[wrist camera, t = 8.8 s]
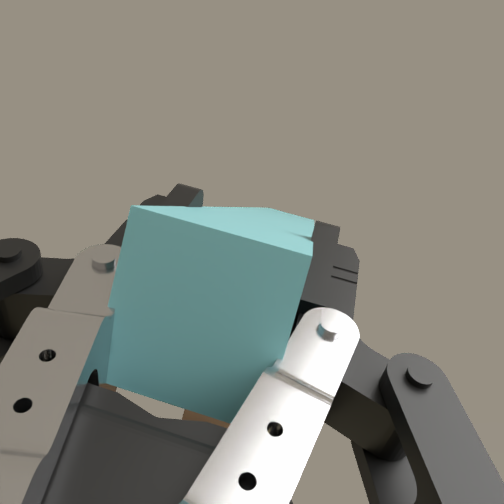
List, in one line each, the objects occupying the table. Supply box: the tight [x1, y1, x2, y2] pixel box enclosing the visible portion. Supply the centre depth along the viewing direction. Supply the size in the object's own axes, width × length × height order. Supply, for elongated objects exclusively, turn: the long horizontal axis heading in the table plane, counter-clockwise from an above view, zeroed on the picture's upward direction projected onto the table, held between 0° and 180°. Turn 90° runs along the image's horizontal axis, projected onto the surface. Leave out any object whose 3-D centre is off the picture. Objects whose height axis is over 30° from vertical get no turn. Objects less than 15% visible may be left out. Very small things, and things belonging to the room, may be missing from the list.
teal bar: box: [106, 205, 314, 424], centre depth 22 cm, size 26×4×4 cm, turn 172°
